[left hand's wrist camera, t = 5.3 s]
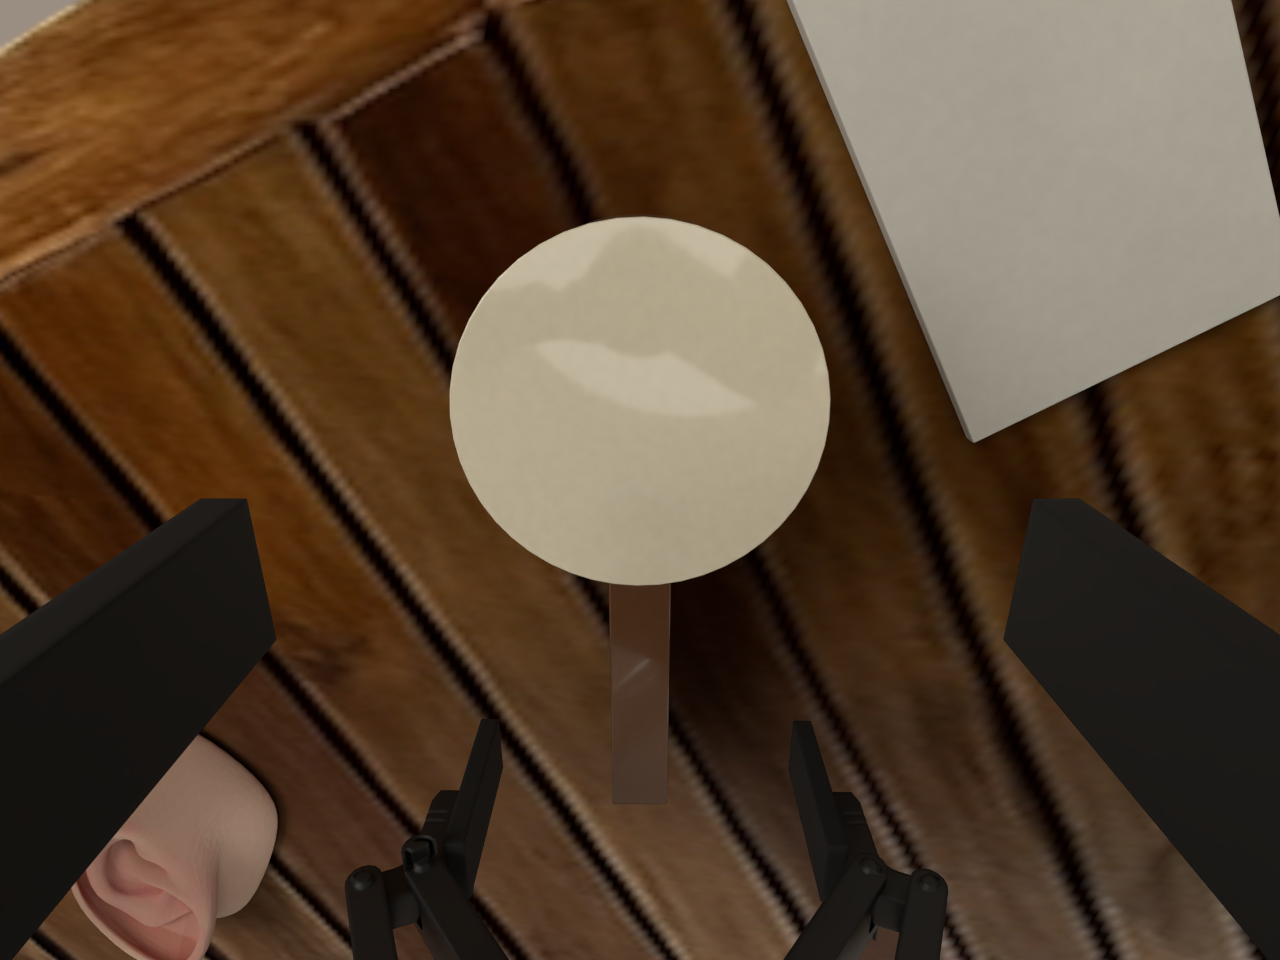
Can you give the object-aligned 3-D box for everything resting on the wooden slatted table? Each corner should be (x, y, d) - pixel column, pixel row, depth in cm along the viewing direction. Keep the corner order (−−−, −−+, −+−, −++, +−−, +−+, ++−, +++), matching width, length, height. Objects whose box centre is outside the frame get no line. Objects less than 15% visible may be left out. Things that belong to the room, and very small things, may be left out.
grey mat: (1280, 285, 31) (1296, 288, 30) (966, 438, 33) (973, 443, 32) (1157, -247, 25) (1174, -261, 24) (781, -11, 27) (785, -17, 26)
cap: (856, 450, 25) (889, 487, 22) (582, 586, 27) (574, 639, 24) (712, 143, 22) (725, 133, 18) (408, 324, 23) (371, 344, 20)
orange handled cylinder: (544, 248, 30) (512, 264, 23) (735, 248, 30) (767, 264, 23) (565, 717, 39) (547, 840, 31) (714, 717, 39) (732, 840, 31)
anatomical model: (66, 748, 34) (290, 849, 37) (122, 695, 38) (322, 790, 40) (-15, 914, 38) (192, 996, 41) (43, 851, 42) (229, 930, 44)
